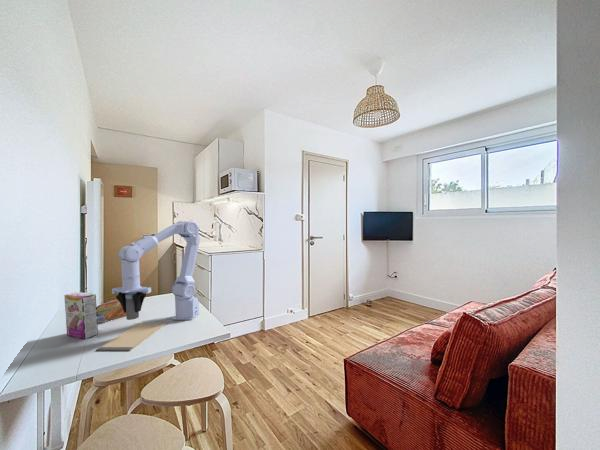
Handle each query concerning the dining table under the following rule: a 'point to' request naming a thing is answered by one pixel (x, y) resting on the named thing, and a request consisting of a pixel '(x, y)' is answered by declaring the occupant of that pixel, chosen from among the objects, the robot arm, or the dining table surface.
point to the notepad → (131, 338)
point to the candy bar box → (81, 315)
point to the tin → (109, 311)
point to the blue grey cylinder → (130, 307)
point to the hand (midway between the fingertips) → (132, 311)
